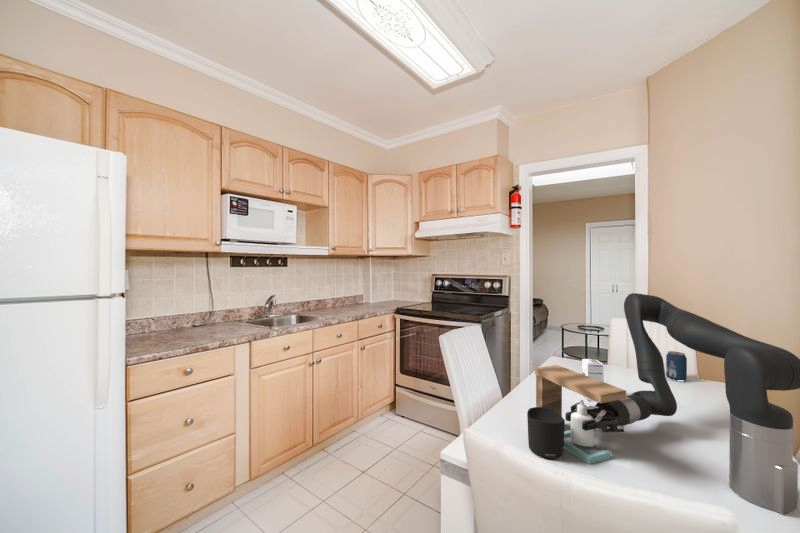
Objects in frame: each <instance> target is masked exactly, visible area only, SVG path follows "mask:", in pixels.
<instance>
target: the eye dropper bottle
mask: <svg viewBox="0 0 800 533" xmlns="http://www.w3.org/2000/svg"><path fill="white" fill-rule="evenodd" d="M579 402H580V404H577V403H576V404H577V412H574V413H572V414H571V421H570V430H571V441H572V443H574V444H577V445H580V446H586V447H592V446H594V445H595V429H592V430H587V431H585V430H583V429H582V422H583V421H588V420H593V417H592V416H590V415H589V414H587V407H588V406H587V405H586V404H585V402H584V400H583V399H581V400H580V401H579Z"/></svg>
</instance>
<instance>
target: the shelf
mask: <svg viewBox="0 0 800 533" xmlns="http://www.w3.org/2000/svg"><path fill="white" fill-rule="evenodd" d="M534 375H535V376H536V377H535V379H536V380H535V381H536V382H535V383H536V384H535V386H536V387H535V389H536V390H535V405H536V406H535V407H544V408H549V409H552V410H555V411H556V412H558V413H559V414H560V415H561V417H562V418H563V414H562V413H563V411H562V410H563V398H562V397H563V388H565V389H567V390H569V391H572V392H575V393H577V394H578V395H581V396H583V397H584V396H585V397H588V398H590V399H592V400H594V401H593V402H596V403H598V402H599V403H605V402H610V401H615V400H620V399H625V398H626V396H627V390H626V389H623V388H621V387H617V386H615V385H612V384H609V383H607V382H602V381H599V380H596V379H594V378H591V377H588V376H586V375H583V374H582V373H580V372H577V371H574V370H572V369H569V368H567V367H563V366H561V365H558V364H554V365H546V366H540V367H535V368H534ZM585 397H584V398H585Z"/></svg>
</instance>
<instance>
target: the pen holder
mask: <svg viewBox="0 0 800 533" xmlns="http://www.w3.org/2000/svg"><path fill="white" fill-rule="evenodd" d="M526 416H527V437H528V439H527V440H528V448H529V450H530V451H531V452H532V453H533V454H534V455H536V456H538V457H540V458H543V459H544V460H545V459H546V460H551V461H552V460H558V459H560V458H561V457H563V454H564V432H565V425H566V424H565V422H566V421H565V420H566V419H564V418H563V416H562V417H561V415H560V414H559V413H558V412H556V411H555V410H552V409H549V408H544V407H536V406H534V407H530V408H528V410H527V415H526Z"/></svg>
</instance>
